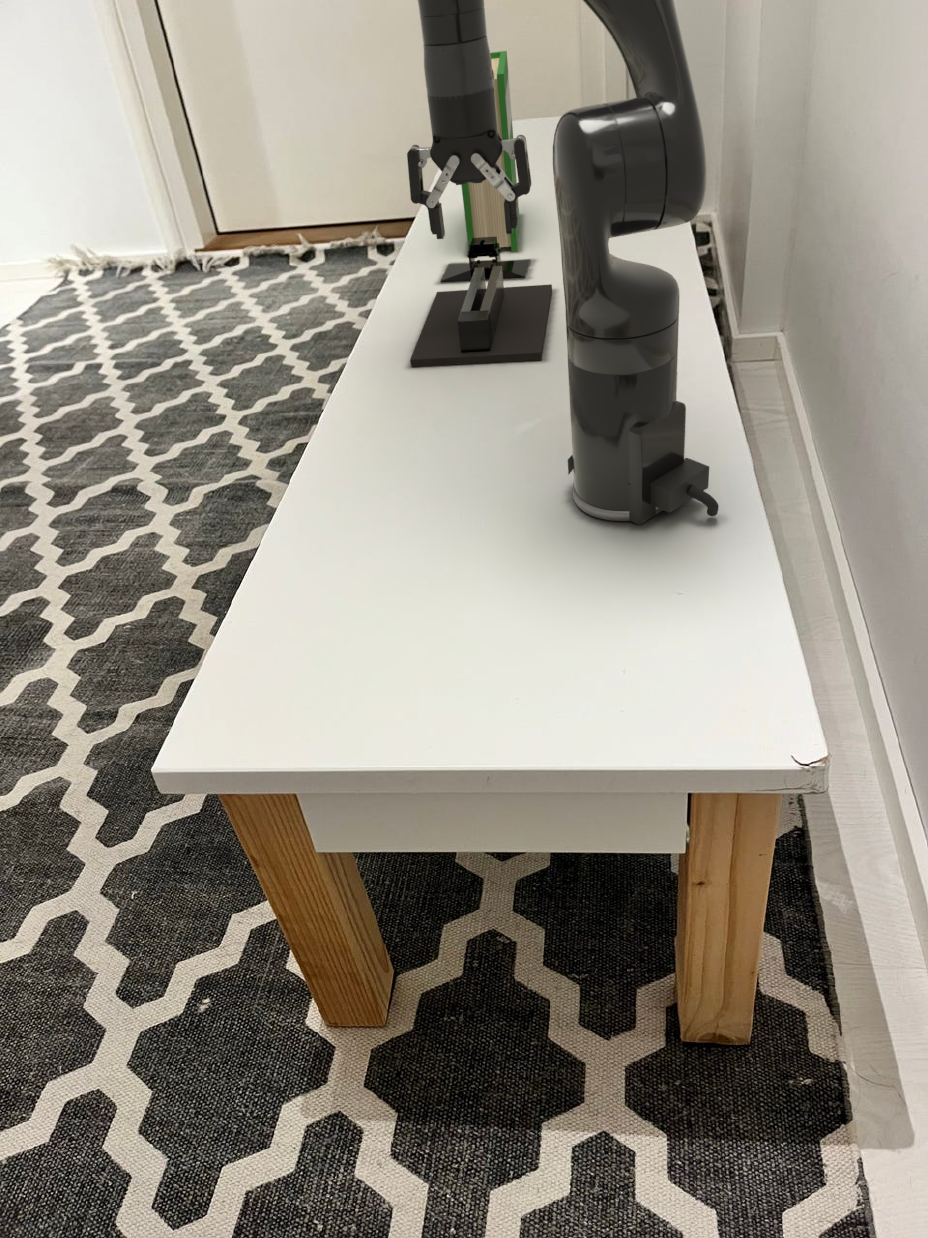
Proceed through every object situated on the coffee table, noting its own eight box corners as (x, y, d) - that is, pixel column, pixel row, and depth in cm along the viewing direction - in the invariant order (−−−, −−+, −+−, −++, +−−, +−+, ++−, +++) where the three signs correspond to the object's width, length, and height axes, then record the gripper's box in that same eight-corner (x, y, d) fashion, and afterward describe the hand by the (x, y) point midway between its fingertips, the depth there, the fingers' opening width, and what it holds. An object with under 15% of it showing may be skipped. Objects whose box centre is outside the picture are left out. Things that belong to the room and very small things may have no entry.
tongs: (490, 351, 116) (487, 319, 114) (461, 352, 117) (457, 321, 115) (504, 295, 130) (501, 265, 128) (478, 296, 131) (475, 267, 128)
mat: (541, 360, 115) (541, 352, 115) (411, 367, 118) (410, 359, 117) (552, 291, 132) (551, 283, 131) (437, 298, 135) (436, 291, 134)
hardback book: (517, 251, 146) (503, 73, 131) (469, 256, 147) (449, 79, 132) (519, 215, 160) (506, 50, 145) (475, 220, 160) (457, 56, 145)
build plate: (440, 283, 139) (435, 251, 137) (449, 265, 145) (445, 234, 142) (525, 278, 137) (522, 245, 134) (531, 260, 142) (528, 228, 139)
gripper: (391, 99, 106) (413, 249, 116) (520, 85, 103) (531, 239, 113) (403, 85, 112) (423, 229, 122) (526, 72, 109) (535, 220, 119)
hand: (475, 234), depth 117 cm, fingers open, 8 cm apart
